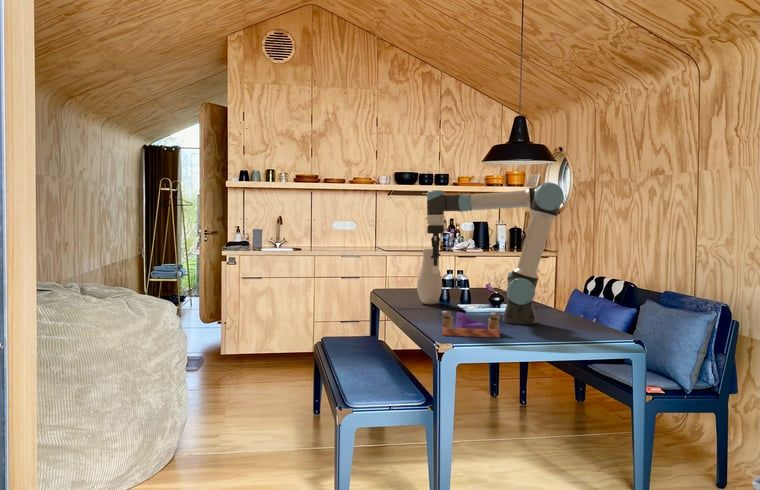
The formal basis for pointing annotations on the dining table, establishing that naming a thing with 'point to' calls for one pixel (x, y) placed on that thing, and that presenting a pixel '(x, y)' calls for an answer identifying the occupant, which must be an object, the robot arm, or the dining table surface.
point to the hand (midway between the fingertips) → (435, 271)
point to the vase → (428, 280)
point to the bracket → (468, 322)
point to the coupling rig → (490, 332)
